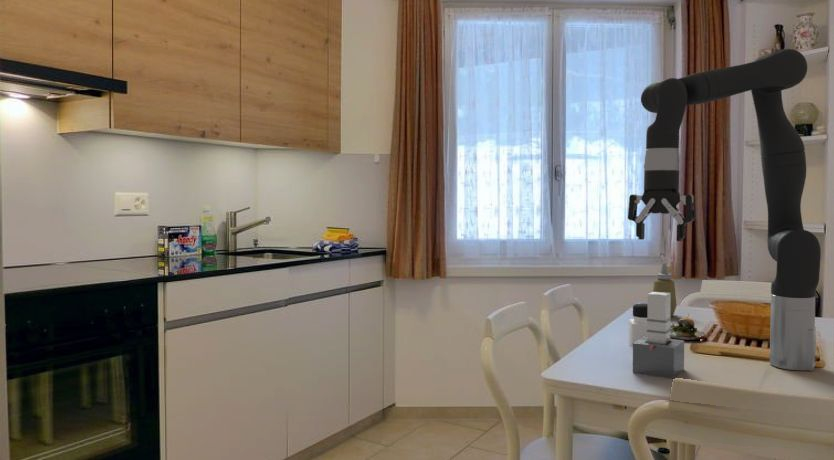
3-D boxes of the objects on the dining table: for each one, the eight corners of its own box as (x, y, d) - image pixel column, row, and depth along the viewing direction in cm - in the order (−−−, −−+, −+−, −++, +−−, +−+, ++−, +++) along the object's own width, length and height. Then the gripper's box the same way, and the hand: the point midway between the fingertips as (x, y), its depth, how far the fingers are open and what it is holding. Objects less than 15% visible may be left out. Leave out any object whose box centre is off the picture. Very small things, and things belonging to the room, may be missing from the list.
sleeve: (703, 373, 150) (703, 339, 150) (686, 390, 137) (686, 353, 137) (634, 363, 160) (634, 331, 159) (612, 378, 147) (612, 344, 146)
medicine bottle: (660, 351, 172) (660, 306, 171) (632, 350, 173) (632, 305, 173) (655, 344, 179) (656, 302, 178) (629, 344, 180) (629, 301, 180)
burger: (653, 336, 191) (653, 311, 191) (686, 332, 195) (686, 308, 194) (681, 344, 180) (682, 318, 179) (715, 341, 183) (716, 315, 183)
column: (670, 370, 149) (671, 293, 148) (665, 374, 146) (666, 295, 145) (651, 367, 152) (652, 291, 151) (646, 371, 148) (646, 294, 147)
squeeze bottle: (646, 314, 223) (646, 262, 222) (665, 312, 225) (666, 261, 224) (661, 318, 215) (662, 265, 214) (681, 316, 218) (682, 263, 217)
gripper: (699, 169, 145) (697, 240, 146) (636, 170, 154) (634, 237, 155) (690, 167, 139) (688, 242, 140) (625, 169, 148) (623, 239, 149)
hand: (660, 240), depth 147 cm, fingers open, 8 cm apart
